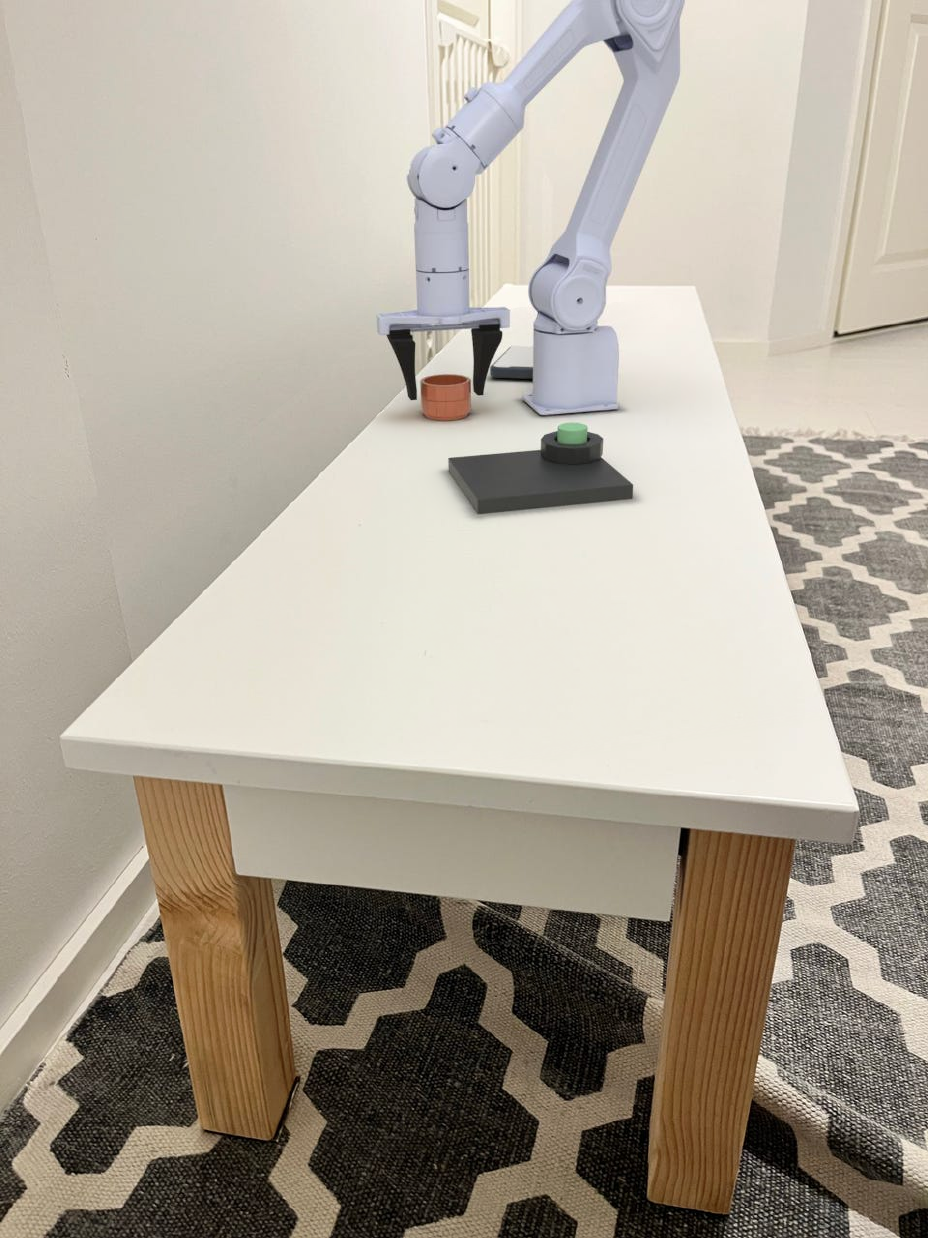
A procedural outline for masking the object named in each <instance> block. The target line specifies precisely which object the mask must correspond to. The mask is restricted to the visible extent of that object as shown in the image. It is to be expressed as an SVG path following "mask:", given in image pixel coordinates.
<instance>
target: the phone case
mask: <svg viewBox="0 0 928 1238" xmlns="http://www.w3.org/2000/svg"><path fill="white" fill-rule="evenodd" d="M489 376H490V377H492V378H496V379H522V380H523V379H526V380H533V345H512V346H510V347H508V348H507V349H506V350H505V352H503V353H502V354H501V356H500V357H498V358H497V359H496V360H495V361H494V363H493V364H492V365H490V367H489Z"/></svg>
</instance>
